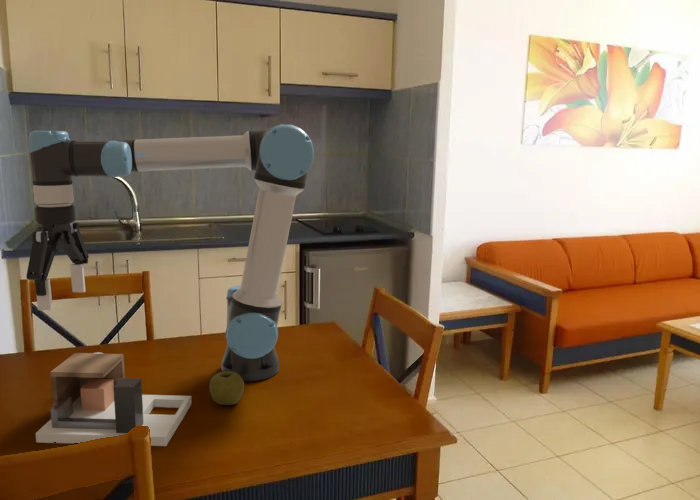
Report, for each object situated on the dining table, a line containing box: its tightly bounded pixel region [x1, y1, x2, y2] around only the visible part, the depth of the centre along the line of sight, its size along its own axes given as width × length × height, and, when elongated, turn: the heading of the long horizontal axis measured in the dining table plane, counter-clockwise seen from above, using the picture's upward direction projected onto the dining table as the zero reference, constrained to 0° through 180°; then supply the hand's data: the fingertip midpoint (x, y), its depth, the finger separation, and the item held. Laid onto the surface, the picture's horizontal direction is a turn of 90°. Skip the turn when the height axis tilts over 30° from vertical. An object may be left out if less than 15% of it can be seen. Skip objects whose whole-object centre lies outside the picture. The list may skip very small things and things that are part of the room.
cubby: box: [50, 352, 126, 408], centre depth 122 cm, size 11×10×10 cm
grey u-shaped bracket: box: [50, 377, 143, 433], centre depth 114 cm, size 18×8×10 cm, turn 90°
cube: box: [81, 379, 114, 411], centre depth 123 cm, size 5×5×5 cm
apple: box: [208, 371, 245, 406], centre depth 129 cm, size 8×8×7 cm
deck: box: [35, 394, 193, 447], centre depth 120 cm, size 26×18×2 cm
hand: (63, 300), depth 123 cm, fingers open, 13 cm apart
